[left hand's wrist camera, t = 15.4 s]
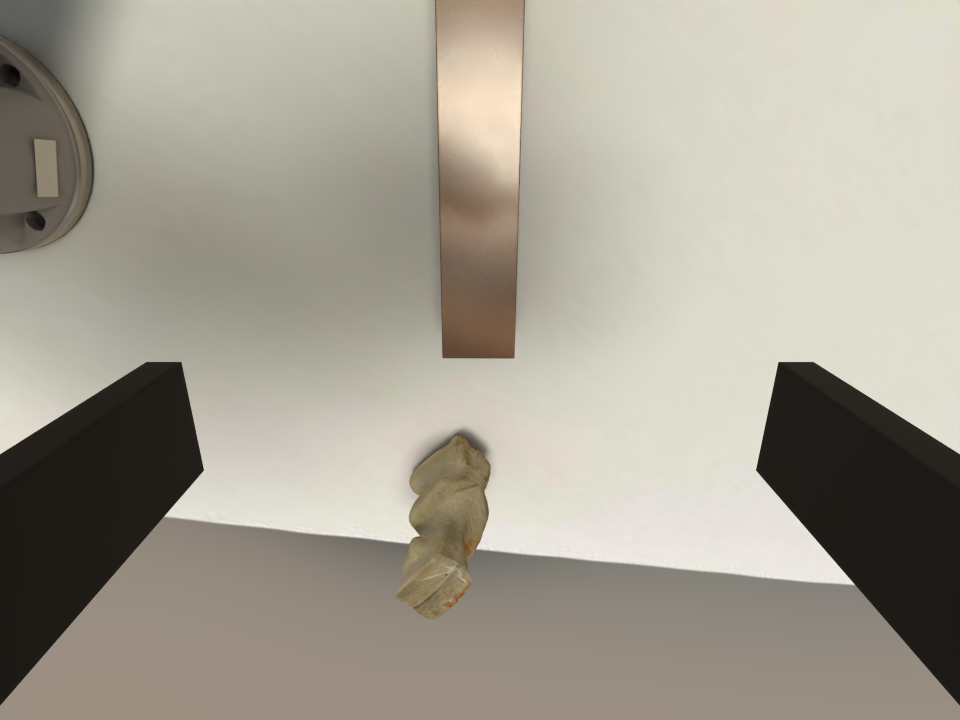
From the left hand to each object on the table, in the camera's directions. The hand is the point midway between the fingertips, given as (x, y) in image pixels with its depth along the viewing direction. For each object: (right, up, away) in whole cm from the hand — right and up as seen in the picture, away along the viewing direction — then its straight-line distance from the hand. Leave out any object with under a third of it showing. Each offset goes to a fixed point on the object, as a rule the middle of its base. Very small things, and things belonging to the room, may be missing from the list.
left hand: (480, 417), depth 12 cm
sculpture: (-3, -8, +37) cm, 38 cm away
